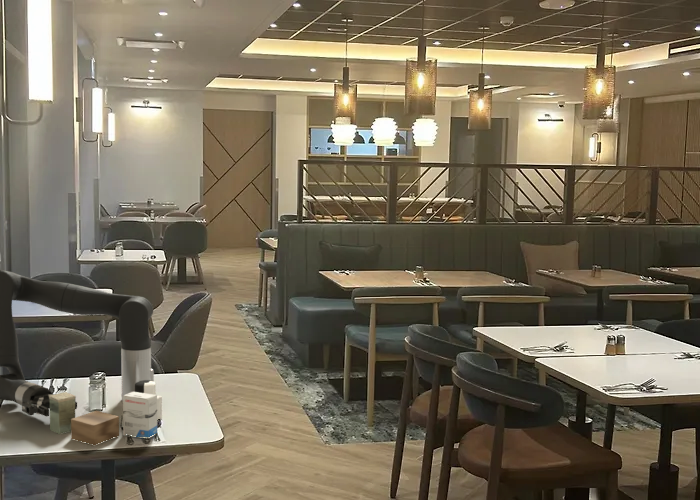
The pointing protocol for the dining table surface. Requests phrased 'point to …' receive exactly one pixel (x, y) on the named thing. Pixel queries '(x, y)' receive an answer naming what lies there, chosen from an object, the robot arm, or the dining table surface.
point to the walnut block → (95, 427)
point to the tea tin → (61, 412)
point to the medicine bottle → (150, 388)
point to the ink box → (139, 414)
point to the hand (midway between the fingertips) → (62, 409)
